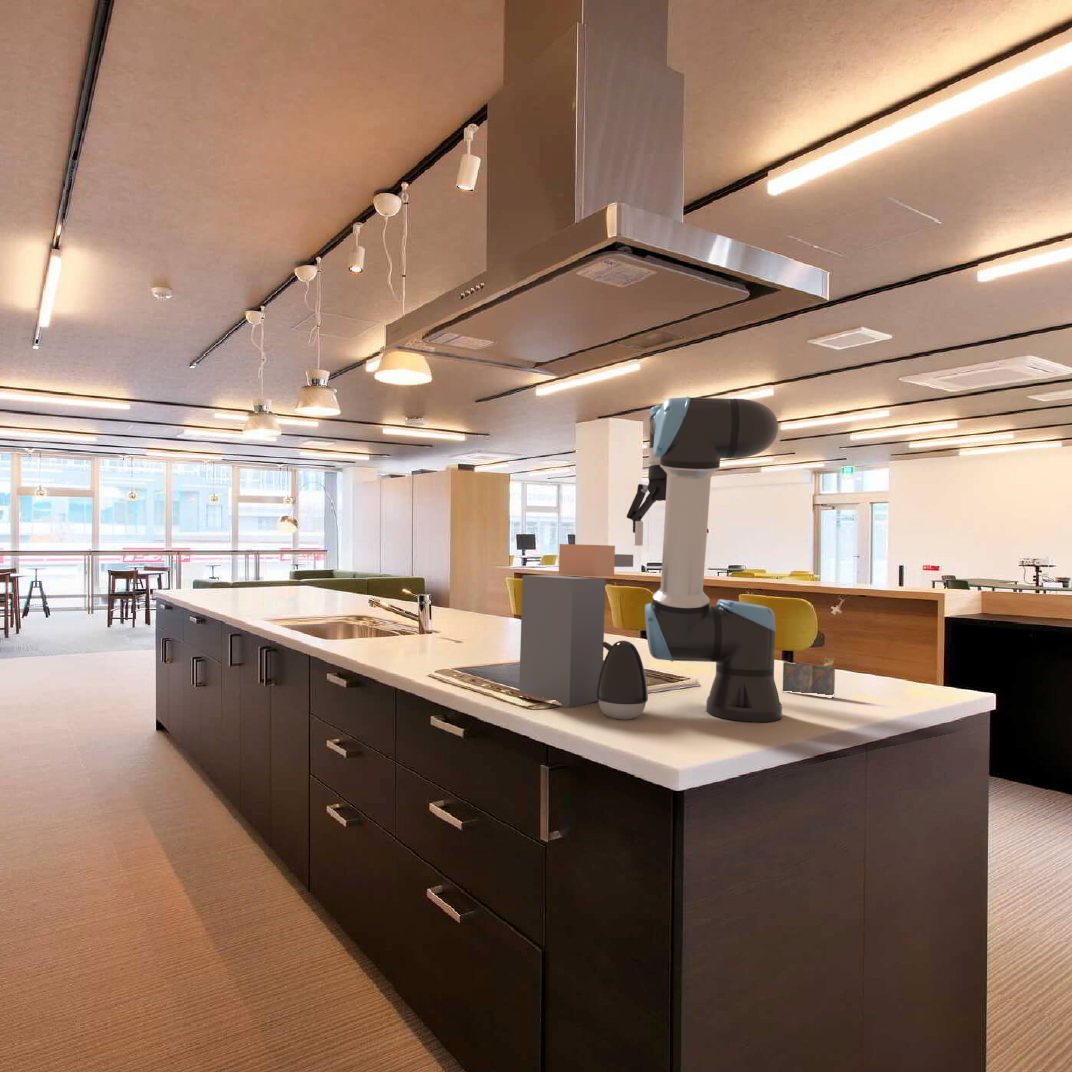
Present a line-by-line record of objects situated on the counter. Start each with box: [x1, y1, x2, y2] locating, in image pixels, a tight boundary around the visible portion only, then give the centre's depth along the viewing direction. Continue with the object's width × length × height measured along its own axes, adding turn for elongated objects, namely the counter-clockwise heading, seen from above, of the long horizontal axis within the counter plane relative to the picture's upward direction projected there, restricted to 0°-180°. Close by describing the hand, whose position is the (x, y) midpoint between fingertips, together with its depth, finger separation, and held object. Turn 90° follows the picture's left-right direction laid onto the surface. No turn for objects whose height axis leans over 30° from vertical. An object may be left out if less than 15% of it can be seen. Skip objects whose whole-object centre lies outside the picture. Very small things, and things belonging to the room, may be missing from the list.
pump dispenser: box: [597, 640, 649, 720], centre depth 146 cm, size 10×10×15 cm
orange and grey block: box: [558, 543, 634, 577], centre depth 173 cm, size 22×10×7 cm, turn 140°
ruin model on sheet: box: [782, 656, 836, 695], centre depth 175 cm, size 25×16×10 cm, turn 55°
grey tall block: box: [518, 574, 606, 709], centre depth 162 cm, size 12×14×27 cm
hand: (660, 546), depth 191 cm, fingers open, 13 cm apart
